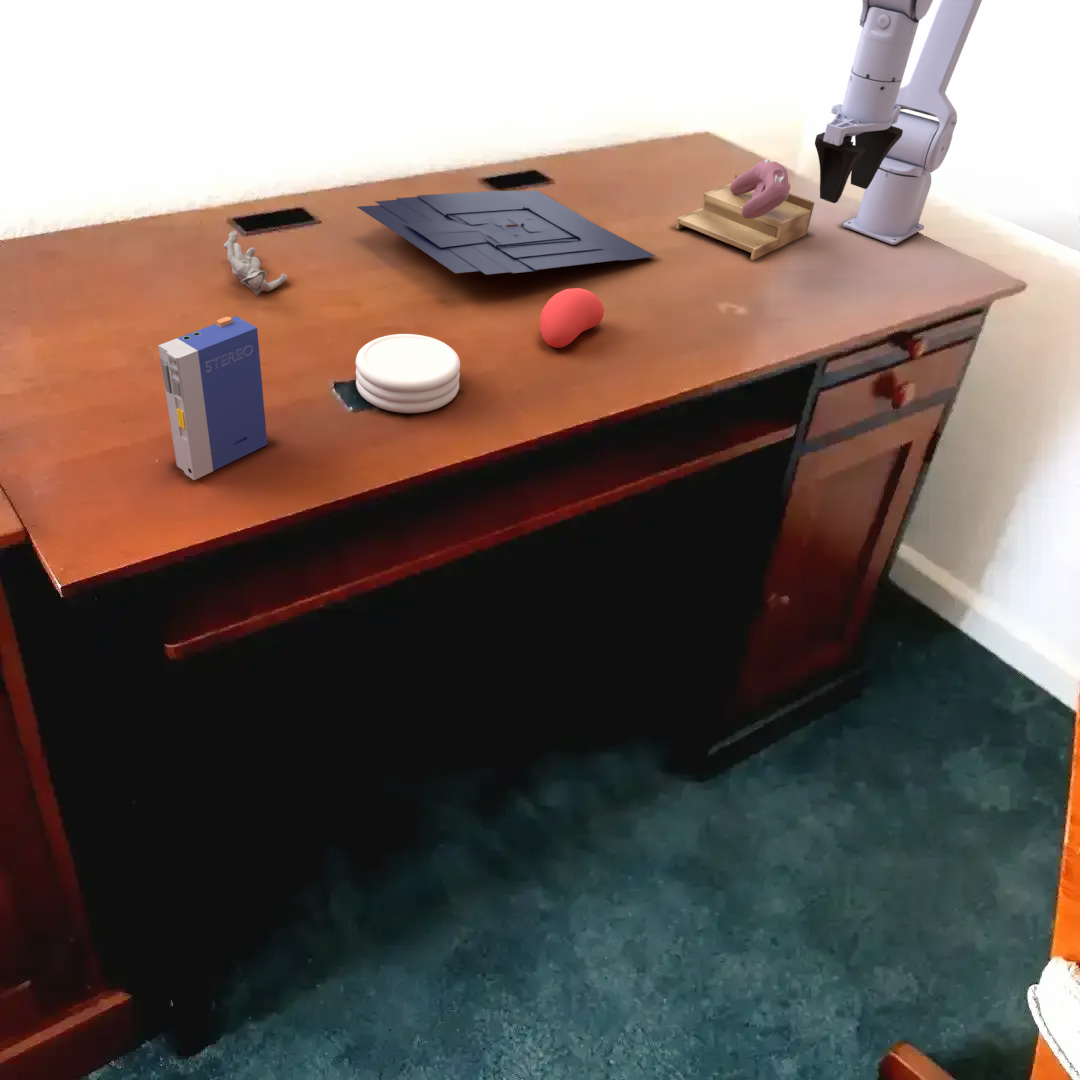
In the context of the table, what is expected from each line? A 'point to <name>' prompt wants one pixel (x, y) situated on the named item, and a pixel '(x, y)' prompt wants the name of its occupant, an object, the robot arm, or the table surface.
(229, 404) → the walkman
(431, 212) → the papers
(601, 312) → the red kidney bean
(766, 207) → the video game controller
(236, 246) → the soldier figure
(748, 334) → the table surface
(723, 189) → the step shelf
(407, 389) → the coaster
